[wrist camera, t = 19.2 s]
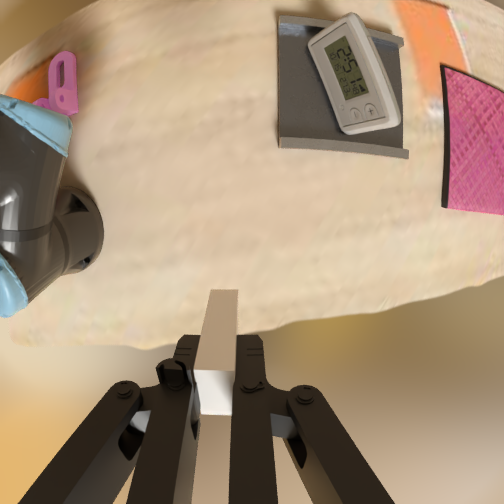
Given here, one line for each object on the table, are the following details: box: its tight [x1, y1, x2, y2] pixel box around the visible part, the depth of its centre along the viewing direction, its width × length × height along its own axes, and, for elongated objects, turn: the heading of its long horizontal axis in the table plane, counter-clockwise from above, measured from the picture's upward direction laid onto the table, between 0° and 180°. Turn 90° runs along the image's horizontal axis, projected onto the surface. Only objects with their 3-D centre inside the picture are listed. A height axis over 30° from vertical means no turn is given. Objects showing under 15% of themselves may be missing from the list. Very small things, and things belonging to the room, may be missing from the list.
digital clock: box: [308, 12, 401, 135], centre depth 31 cm, size 16×9×11 cm, turn 8°
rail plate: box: [278, 15, 409, 159], centre depth 35 cm, size 20×21×3 cm
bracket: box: [32, 51, 79, 116], centre depth 31 cm, size 13×6×7 cm, turn 8°
